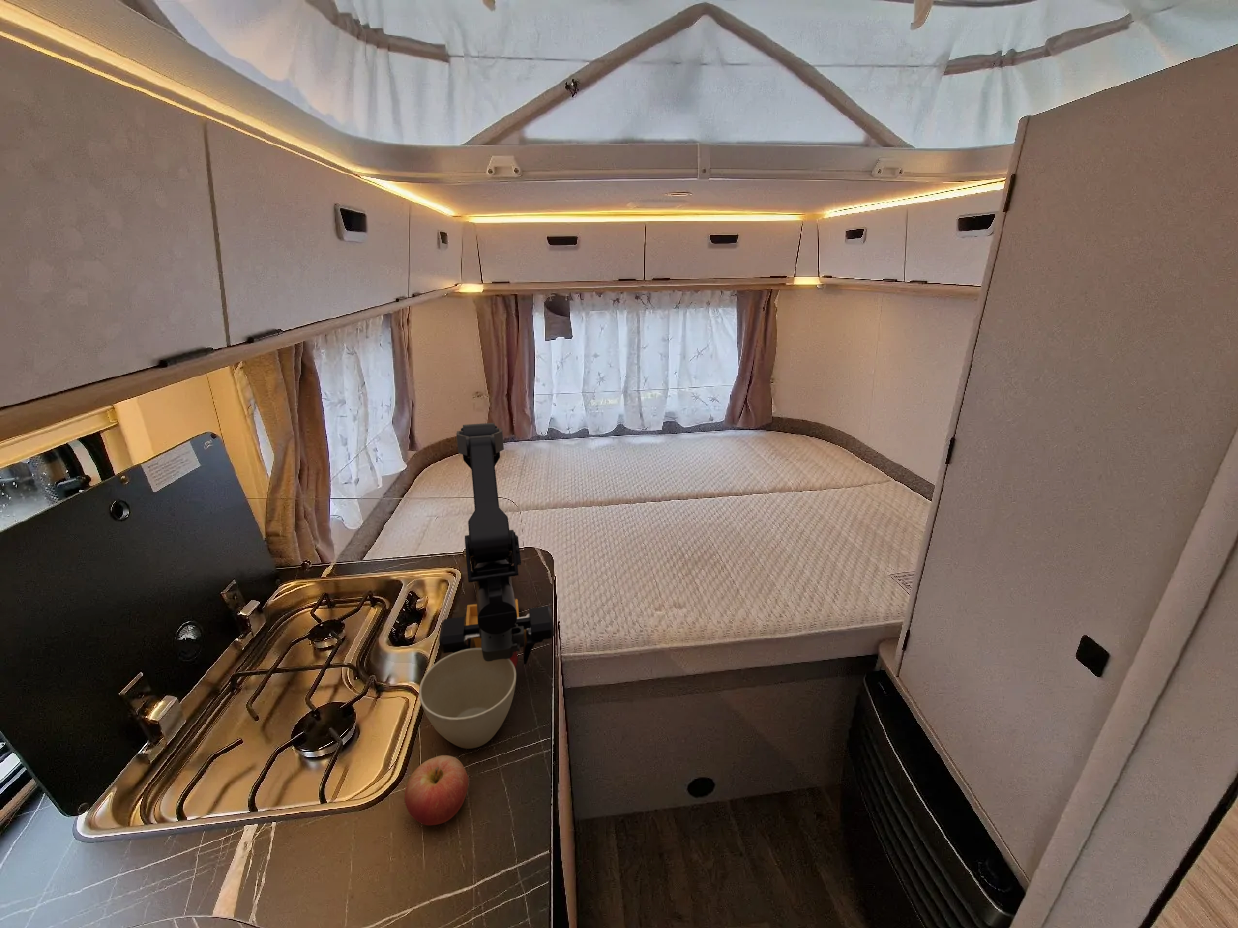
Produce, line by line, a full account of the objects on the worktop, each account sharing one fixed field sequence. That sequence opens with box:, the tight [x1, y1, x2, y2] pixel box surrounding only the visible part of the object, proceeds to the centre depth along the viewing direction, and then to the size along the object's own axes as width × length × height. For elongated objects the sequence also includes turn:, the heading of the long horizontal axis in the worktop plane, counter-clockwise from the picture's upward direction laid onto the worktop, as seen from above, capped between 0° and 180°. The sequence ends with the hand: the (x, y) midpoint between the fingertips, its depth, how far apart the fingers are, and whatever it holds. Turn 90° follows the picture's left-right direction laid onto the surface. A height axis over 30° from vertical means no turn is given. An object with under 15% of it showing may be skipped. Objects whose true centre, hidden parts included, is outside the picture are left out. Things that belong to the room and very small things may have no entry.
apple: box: [404, 754, 470, 826], centre depth 69 cm, size 8×8×8 cm
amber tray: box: [465, 598, 520, 648], centre depth 103 cm, size 10×10×3 cm
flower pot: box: [418, 648, 517, 750], centre depth 80 cm, size 14×14×10 cm
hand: (501, 666), depth 92 cm, fingers open, 8 cm apart
